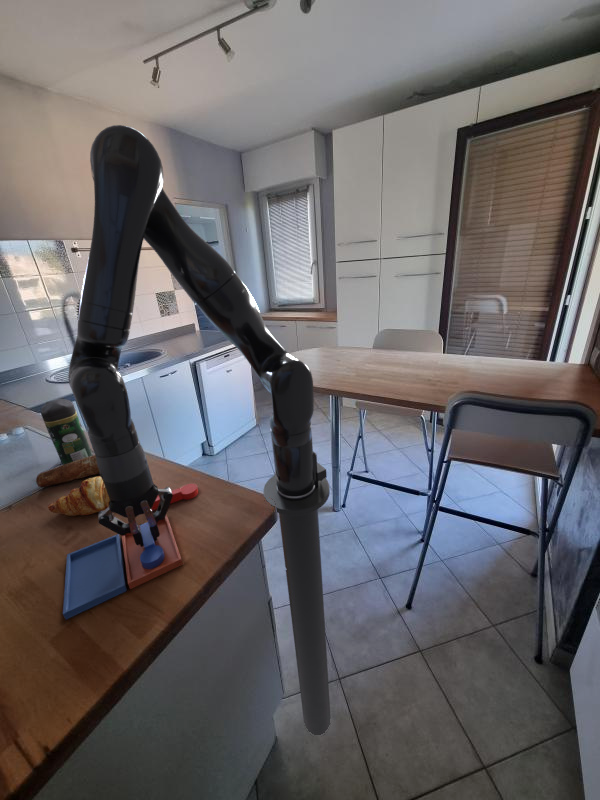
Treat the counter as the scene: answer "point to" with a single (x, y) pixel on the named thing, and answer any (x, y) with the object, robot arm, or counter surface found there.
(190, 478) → the counter surface
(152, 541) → the blue spoon
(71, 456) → the coffee jar
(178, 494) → the red spoon
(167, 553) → the terracotta tray
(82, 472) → the bread
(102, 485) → the croissant
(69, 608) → the blue tray
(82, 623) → the counter surface
